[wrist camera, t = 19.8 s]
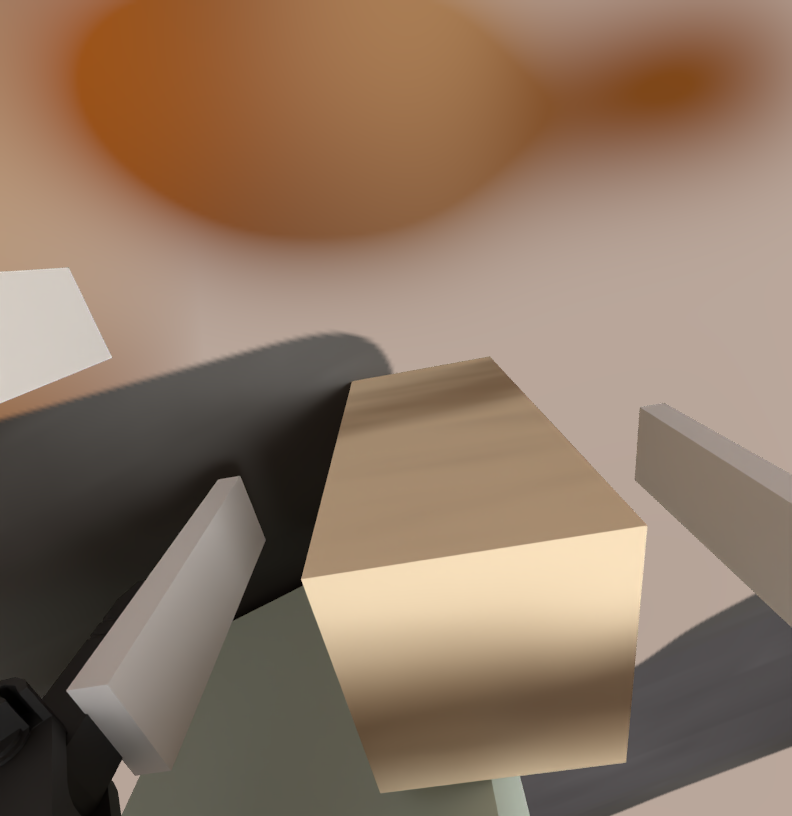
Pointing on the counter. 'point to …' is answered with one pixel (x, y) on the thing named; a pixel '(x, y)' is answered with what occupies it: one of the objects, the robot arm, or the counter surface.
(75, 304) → the white piece
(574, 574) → the tan rectangular block
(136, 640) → the robot arm
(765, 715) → the counter surface
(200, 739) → the door
